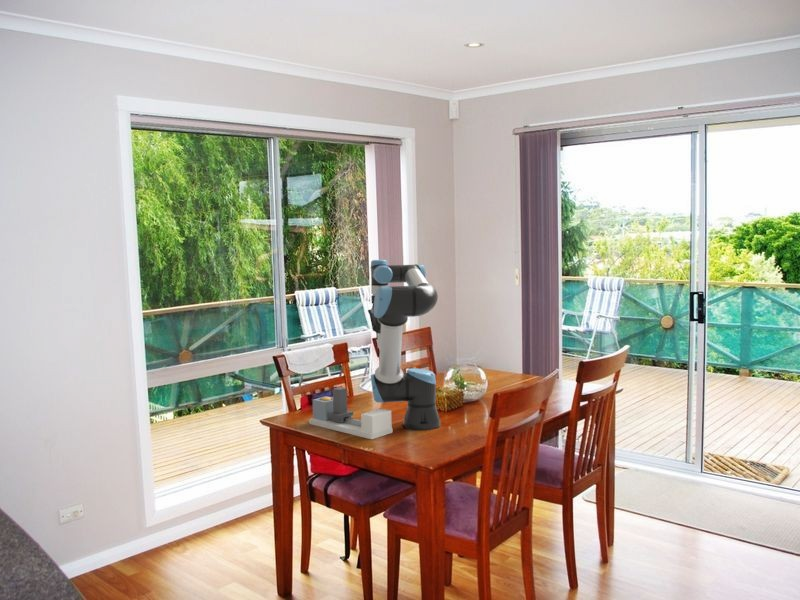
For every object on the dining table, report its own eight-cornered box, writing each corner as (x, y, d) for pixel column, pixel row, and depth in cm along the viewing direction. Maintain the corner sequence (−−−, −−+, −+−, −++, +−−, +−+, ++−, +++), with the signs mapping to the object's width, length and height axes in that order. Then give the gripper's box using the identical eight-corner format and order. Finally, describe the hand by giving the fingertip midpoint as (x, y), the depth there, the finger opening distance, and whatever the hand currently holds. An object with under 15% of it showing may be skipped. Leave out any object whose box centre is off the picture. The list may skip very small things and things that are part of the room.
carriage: (353, 419, 300) (352, 387, 299) (339, 423, 294) (338, 391, 293) (341, 416, 305) (340, 385, 303) (327, 420, 299) (326, 388, 297)
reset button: (333, 409, 305) (333, 397, 304) (326, 411, 302) (325, 399, 301) (326, 408, 308) (326, 396, 307) (319, 409, 304) (318, 398, 304)
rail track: (392, 432, 289) (392, 410, 288) (371, 439, 280) (371, 416, 279) (330, 418, 312) (330, 397, 311) (309, 423, 303) (309, 402, 302)
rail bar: (372, 427, 289) (372, 422, 288) (369, 428, 287) (369, 423, 287) (334, 418, 303) (334, 414, 303) (331, 419, 302) (331, 415, 301)
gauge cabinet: (340, 417, 305) (339, 398, 305) (325, 421, 299) (325, 402, 299) (327, 414, 311) (326, 396, 310) (313, 418, 305) (312, 399, 304)
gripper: (396, 294, 318) (397, 347, 321) (375, 293, 327) (375, 345, 329) (385, 296, 313) (385, 350, 315) (363, 294, 321) (364, 347, 324)
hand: (380, 347), depth 322 cm, fingers closed
